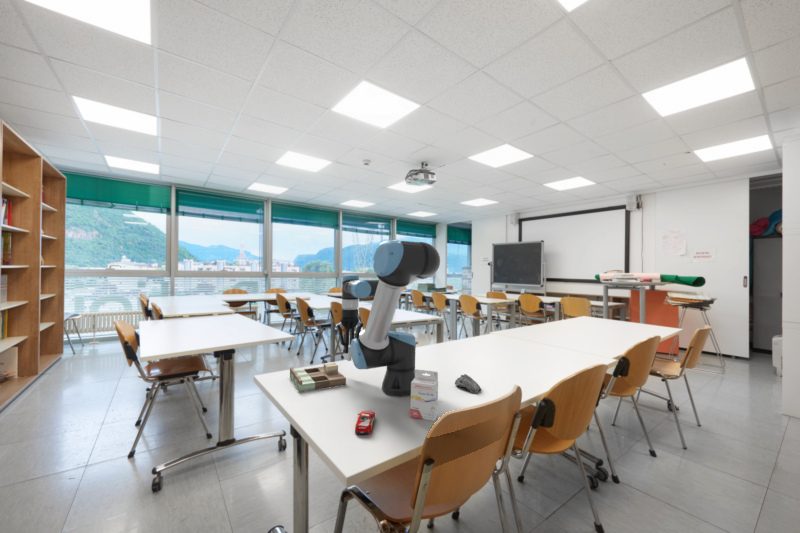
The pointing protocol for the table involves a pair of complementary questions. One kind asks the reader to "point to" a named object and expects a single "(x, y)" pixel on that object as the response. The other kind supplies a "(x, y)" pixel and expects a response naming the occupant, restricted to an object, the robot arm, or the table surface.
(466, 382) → the fossilized seashell
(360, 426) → the race car
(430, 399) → the ink cartridge box
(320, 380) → the multicoloured piece
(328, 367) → the birch block
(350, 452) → the table surface
